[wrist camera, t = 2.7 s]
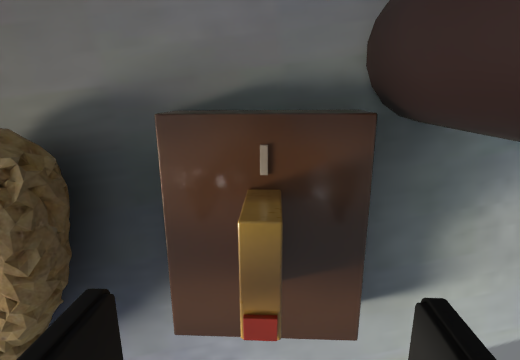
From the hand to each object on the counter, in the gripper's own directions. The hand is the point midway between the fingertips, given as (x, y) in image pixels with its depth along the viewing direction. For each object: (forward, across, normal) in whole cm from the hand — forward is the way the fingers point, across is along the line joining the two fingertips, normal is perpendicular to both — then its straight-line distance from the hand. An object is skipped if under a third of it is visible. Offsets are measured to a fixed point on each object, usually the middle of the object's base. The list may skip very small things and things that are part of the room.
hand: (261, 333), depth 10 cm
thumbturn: (+6, 0, 0) cm, 6 cm away
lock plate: (+9, 0, 0) cm, 9 cm away
